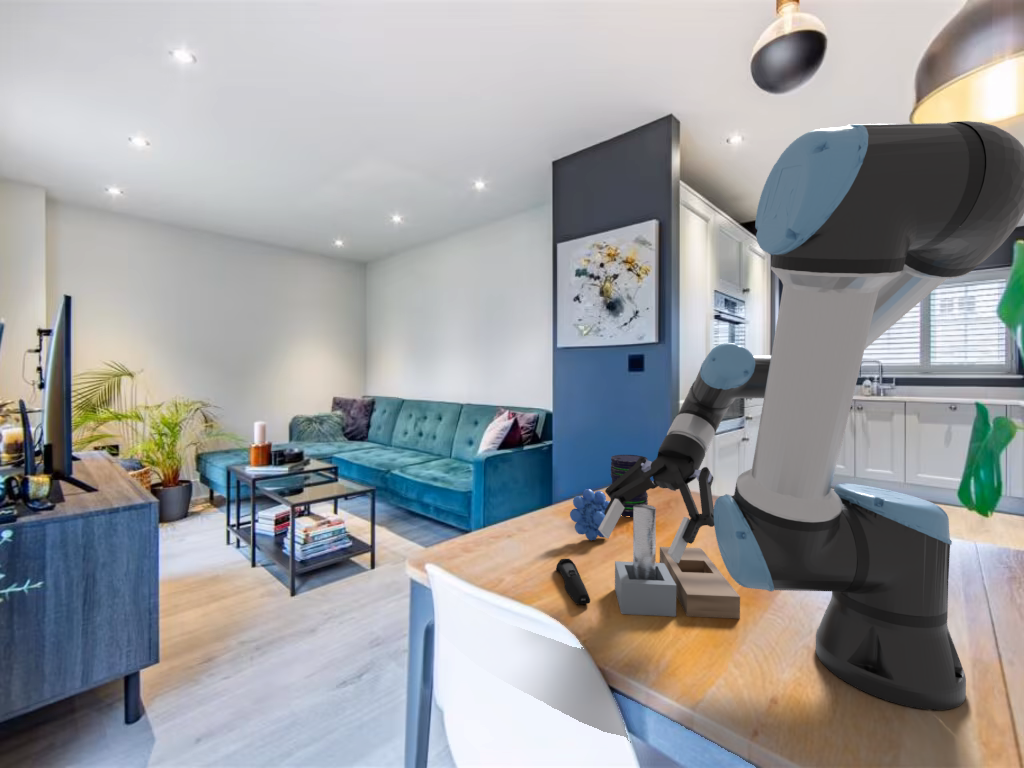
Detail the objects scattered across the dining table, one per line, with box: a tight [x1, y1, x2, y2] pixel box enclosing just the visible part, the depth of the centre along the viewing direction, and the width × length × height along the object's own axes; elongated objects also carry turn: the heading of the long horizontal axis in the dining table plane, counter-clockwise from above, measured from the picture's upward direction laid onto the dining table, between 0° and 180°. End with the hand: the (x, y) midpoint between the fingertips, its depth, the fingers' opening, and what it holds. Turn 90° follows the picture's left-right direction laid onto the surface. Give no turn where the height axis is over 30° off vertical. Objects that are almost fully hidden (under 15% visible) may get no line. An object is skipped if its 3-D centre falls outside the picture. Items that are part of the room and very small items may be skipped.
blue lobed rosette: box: [569, 488, 610, 541], centre depth 106 cm, size 12×7×12 cm, turn 113°
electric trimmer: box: [555, 558, 591, 605], centre depth 84 cm, size 4×16×3 cm, turn 5°
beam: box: [659, 546, 741, 620], centre depth 83 cm, size 20×8×4 cm, turn 174°
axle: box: [632, 504, 657, 580], centre depth 78 cm, size 4×4×15 cm
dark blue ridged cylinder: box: [610, 454, 649, 517], centre depth 127 cm, size 10×10×15 cm
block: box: [614, 560, 677, 617], centre depth 78 cm, size 8×8×5 cm
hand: (635, 545), depth 77 cm, fingers open, 13 cm apart
